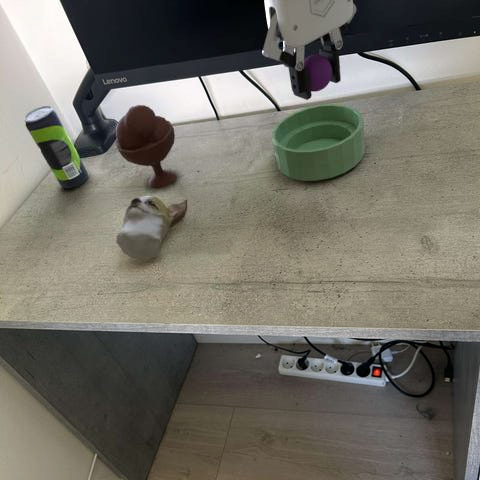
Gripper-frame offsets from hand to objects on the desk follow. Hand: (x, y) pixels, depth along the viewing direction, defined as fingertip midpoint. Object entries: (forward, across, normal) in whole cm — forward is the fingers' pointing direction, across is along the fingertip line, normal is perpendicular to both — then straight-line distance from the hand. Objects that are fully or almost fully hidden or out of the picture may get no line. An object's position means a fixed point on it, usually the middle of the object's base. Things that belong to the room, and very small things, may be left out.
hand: (316, 87), depth 66 cm
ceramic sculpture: (+18, -26, +14) cm, 35 cm away
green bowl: (+18, +6, +10) cm, 21 cm away
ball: (-2, 0, 0) cm, 2 cm away
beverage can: (+18, -29, +47) cm, 58 cm away
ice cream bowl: (+18, -16, +30) cm, 39 cm away
